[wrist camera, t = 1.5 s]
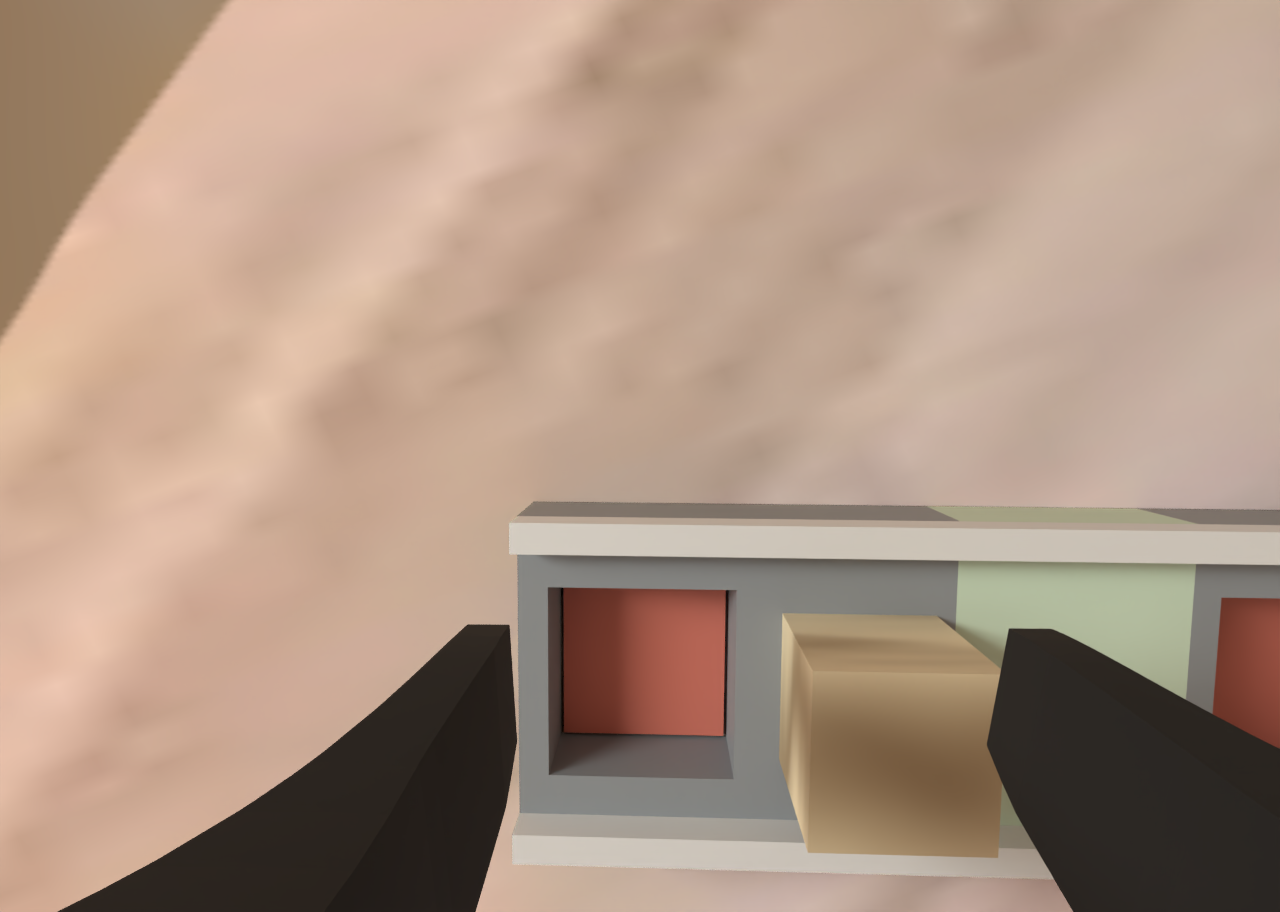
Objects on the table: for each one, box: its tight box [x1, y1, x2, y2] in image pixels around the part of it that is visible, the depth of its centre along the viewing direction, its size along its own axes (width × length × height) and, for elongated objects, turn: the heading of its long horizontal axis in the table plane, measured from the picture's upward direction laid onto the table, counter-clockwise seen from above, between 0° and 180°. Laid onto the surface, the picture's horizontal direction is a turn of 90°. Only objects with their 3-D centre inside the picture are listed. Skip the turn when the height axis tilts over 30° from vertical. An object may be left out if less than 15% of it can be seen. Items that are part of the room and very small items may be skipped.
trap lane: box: [509, 502, 1280, 879], centre depth 20 cm, size 9×24×4 cm, turn 90°
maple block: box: [779, 613, 1002, 858], centre depth 17 cm, size 4×4×4 cm
